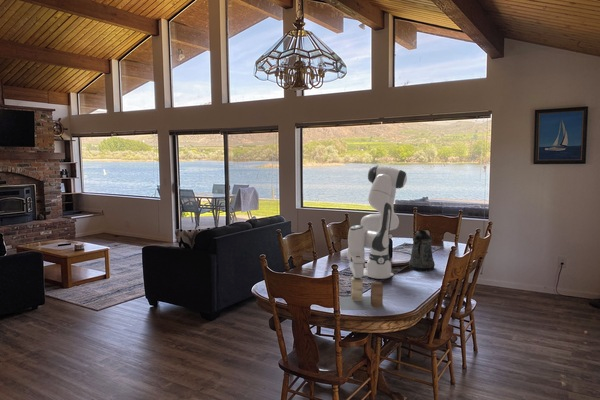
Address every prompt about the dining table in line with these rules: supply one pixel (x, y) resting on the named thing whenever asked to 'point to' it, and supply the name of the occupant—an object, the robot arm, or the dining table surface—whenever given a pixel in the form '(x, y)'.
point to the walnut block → (376, 294)
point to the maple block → (356, 289)
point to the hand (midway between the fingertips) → (355, 281)
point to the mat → (358, 304)
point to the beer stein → (421, 253)
